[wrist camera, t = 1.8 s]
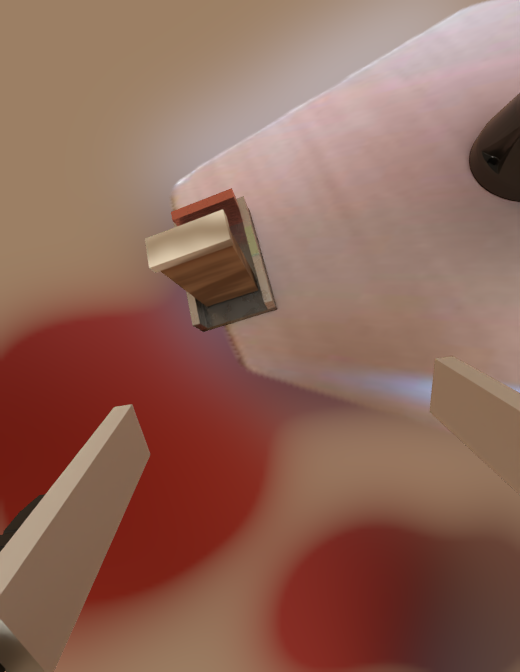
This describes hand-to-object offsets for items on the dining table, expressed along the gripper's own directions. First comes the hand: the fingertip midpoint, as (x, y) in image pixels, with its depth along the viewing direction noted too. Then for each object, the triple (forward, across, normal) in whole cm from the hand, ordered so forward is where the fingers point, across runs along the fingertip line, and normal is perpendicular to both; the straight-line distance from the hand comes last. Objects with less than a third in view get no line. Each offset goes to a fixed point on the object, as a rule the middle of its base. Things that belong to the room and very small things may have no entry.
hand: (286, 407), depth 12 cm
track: (+37, -4, +3) cm, 38 cm away
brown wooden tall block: (+34, -4, 0) cm, 34 cm away
